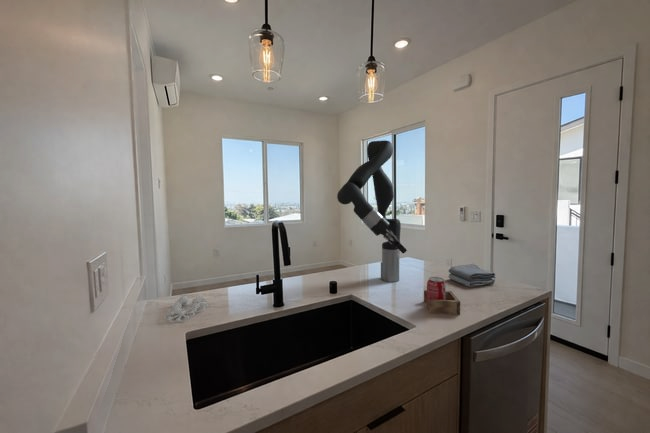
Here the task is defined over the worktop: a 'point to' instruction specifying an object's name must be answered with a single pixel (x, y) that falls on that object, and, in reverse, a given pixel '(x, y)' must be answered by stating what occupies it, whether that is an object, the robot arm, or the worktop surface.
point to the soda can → (436, 289)
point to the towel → (471, 275)
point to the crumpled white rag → (180, 313)
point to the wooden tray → (444, 304)
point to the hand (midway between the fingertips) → (405, 251)
